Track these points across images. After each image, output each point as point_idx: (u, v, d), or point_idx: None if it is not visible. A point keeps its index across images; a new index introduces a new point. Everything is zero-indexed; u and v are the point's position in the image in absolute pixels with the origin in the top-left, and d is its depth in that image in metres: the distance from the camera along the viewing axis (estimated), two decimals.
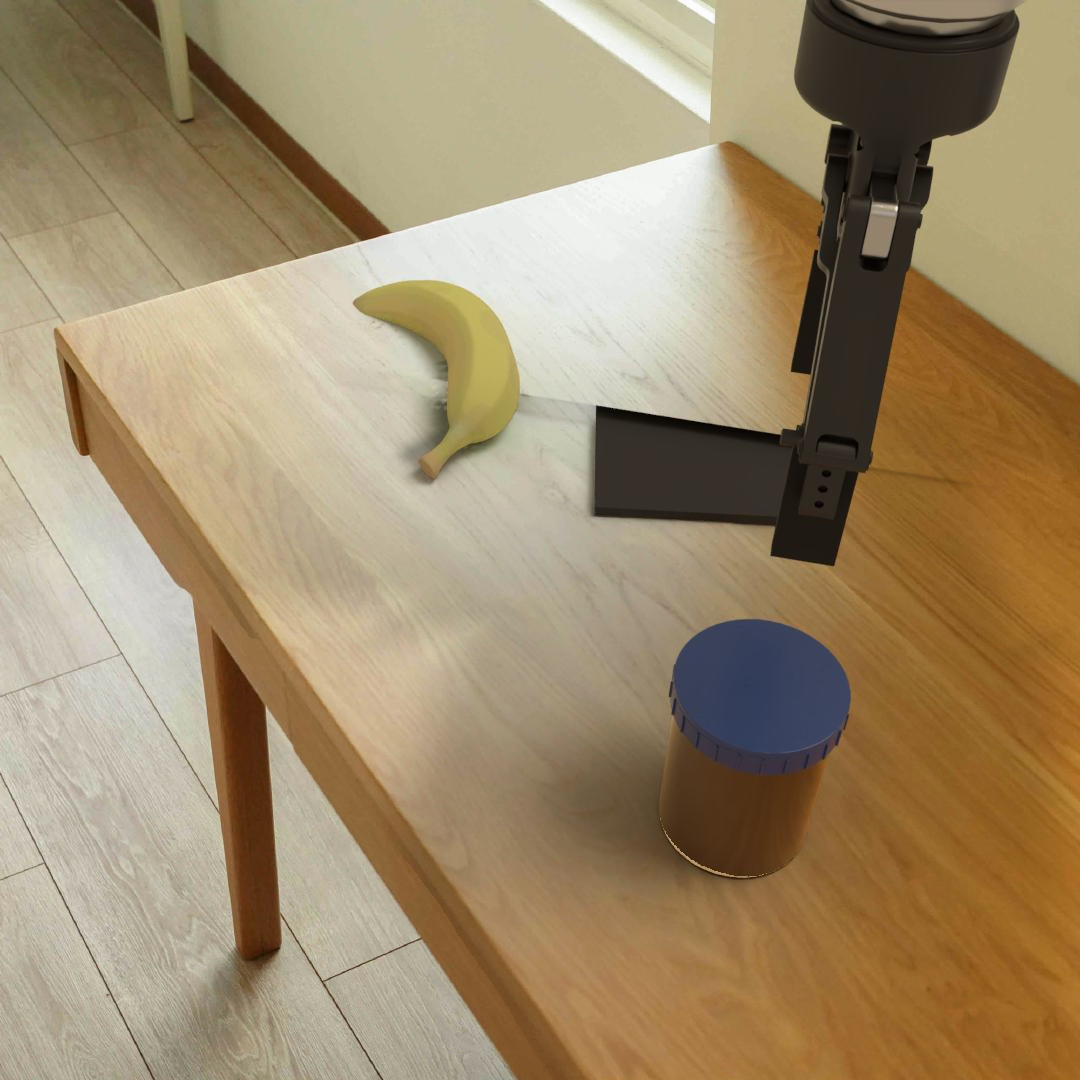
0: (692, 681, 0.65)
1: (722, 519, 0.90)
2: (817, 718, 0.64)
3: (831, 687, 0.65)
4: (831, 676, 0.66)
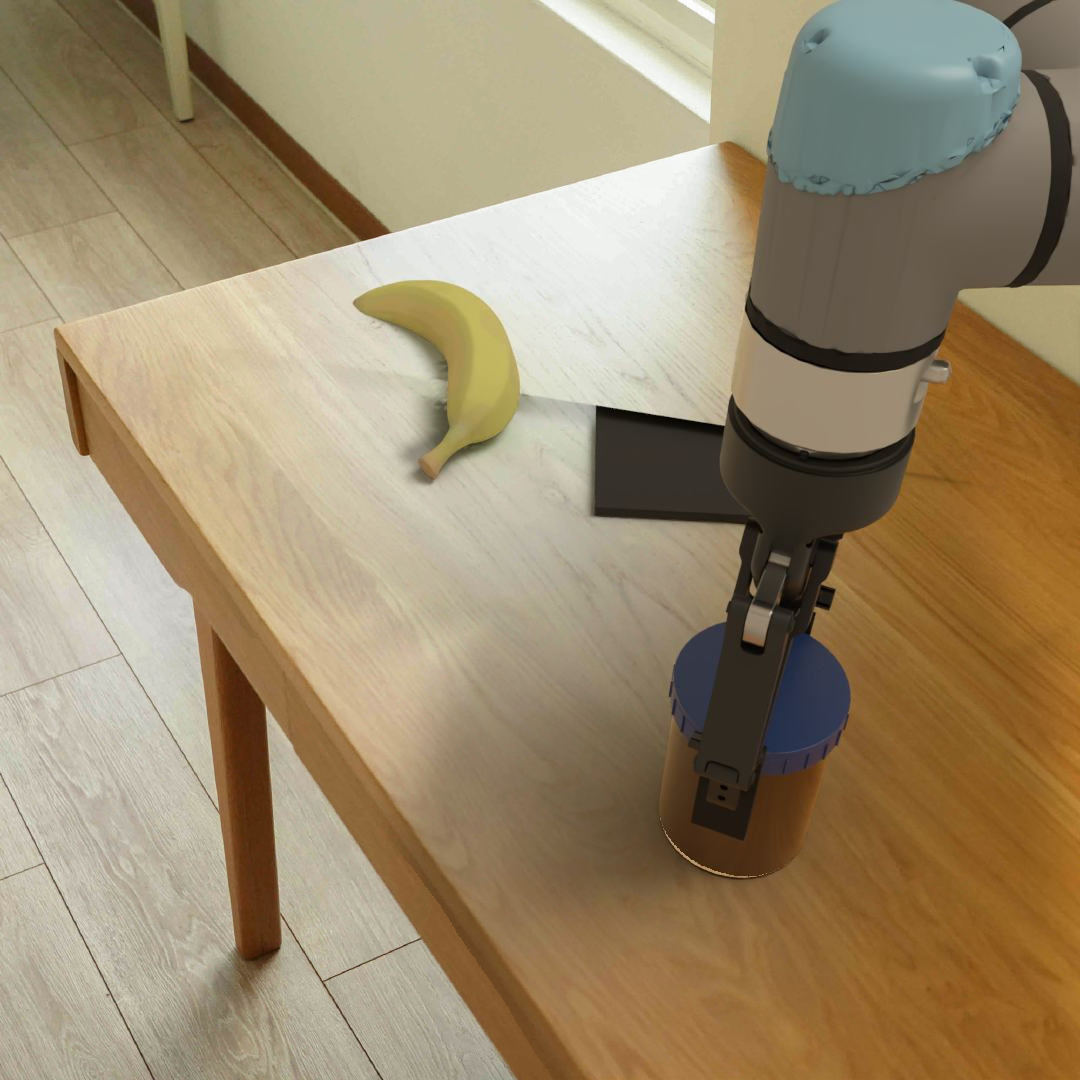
0: (692, 681, 0.65)
1: (722, 519, 0.90)
2: (817, 718, 0.64)
3: (831, 687, 0.65)
4: (831, 676, 0.66)
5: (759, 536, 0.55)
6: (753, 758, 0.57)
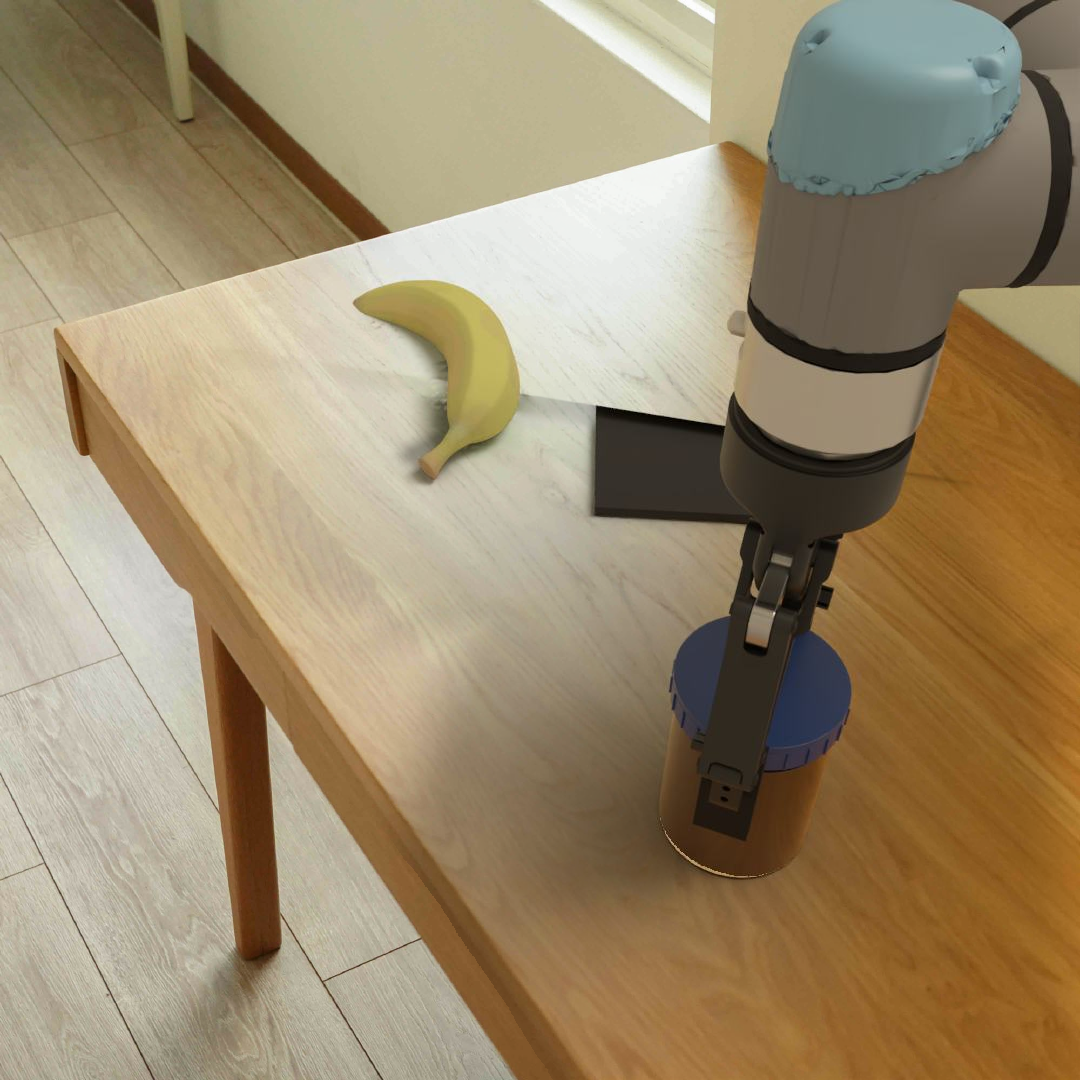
0: (831, 679, 0.65)
1: (722, 519, 0.90)
2: (709, 643, 0.67)
3: (692, 673, 0.65)
4: (691, 683, 0.65)
5: None
6: None
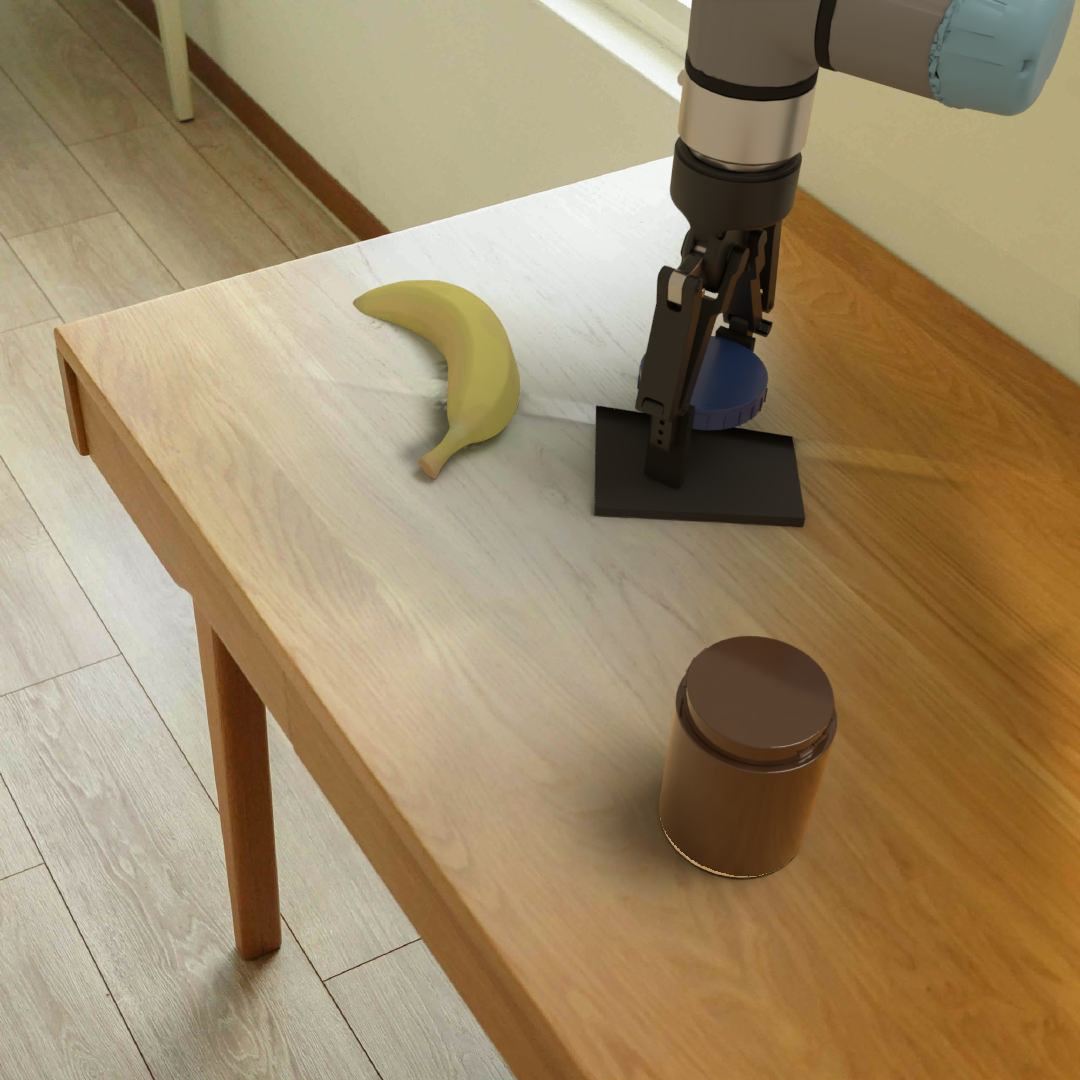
0: (754, 377, 0.90)
1: (722, 519, 0.90)
2: None
3: None
4: None
5: None
6: None
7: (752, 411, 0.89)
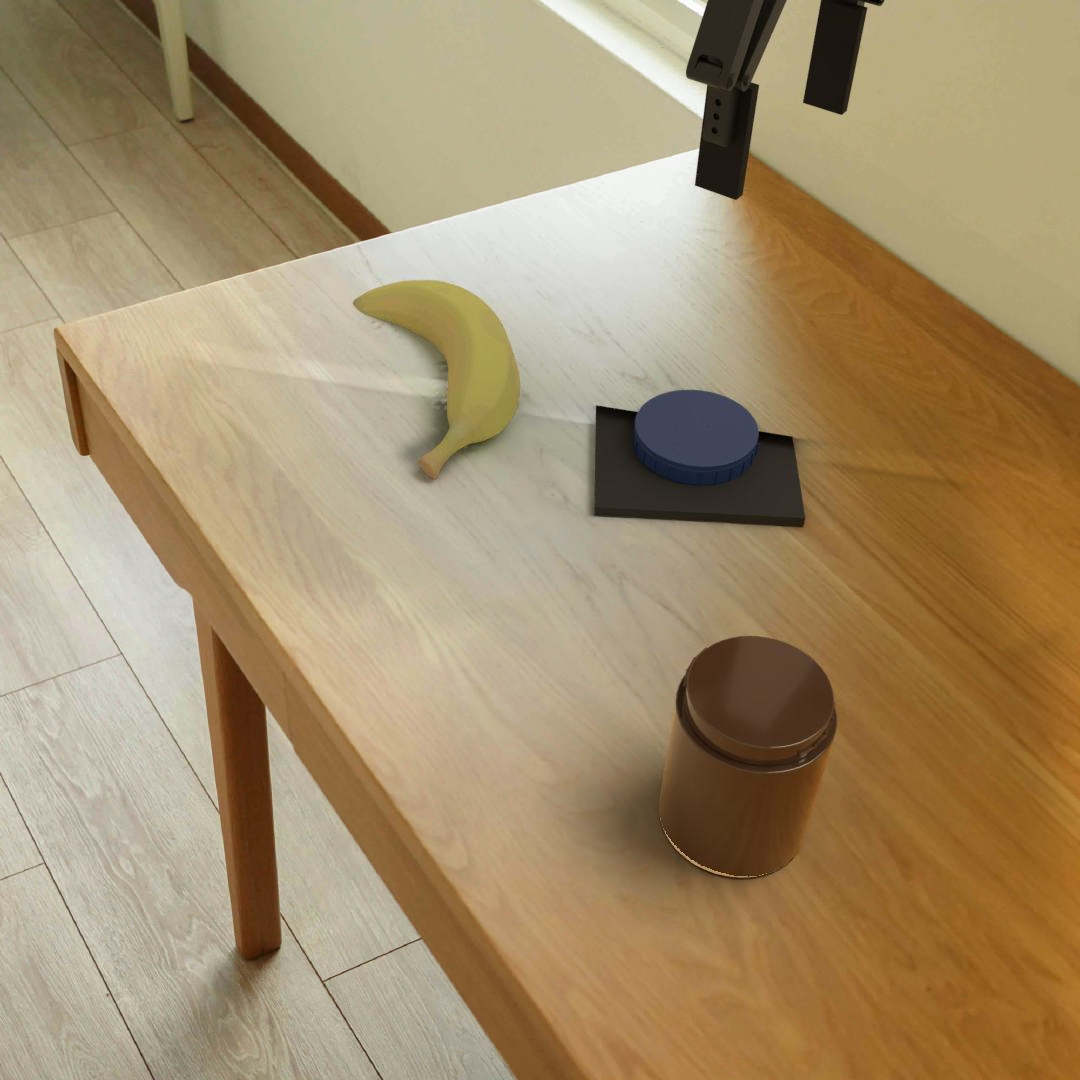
0: (745, 433, 0.93)
1: (722, 519, 0.90)
2: (665, 403, 0.95)
3: (649, 418, 0.94)
4: (646, 424, 0.93)
5: None
6: None
7: (743, 466, 0.92)
